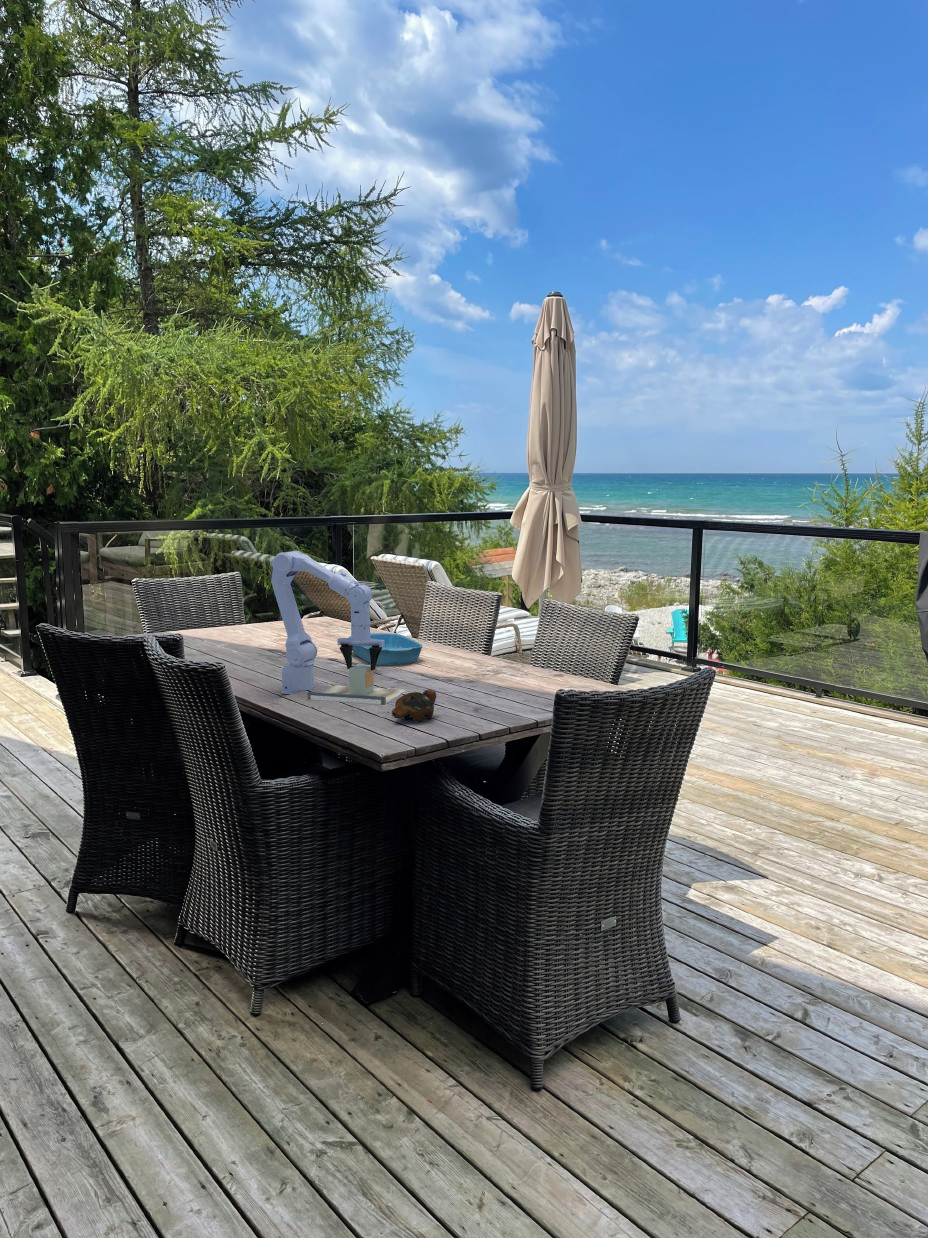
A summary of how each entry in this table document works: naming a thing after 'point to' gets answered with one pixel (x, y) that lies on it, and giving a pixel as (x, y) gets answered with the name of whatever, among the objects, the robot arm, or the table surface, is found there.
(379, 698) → the rail
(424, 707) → the decorative turtle
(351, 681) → the carton
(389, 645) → the casserole dish
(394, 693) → the shelf board
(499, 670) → the table surface
